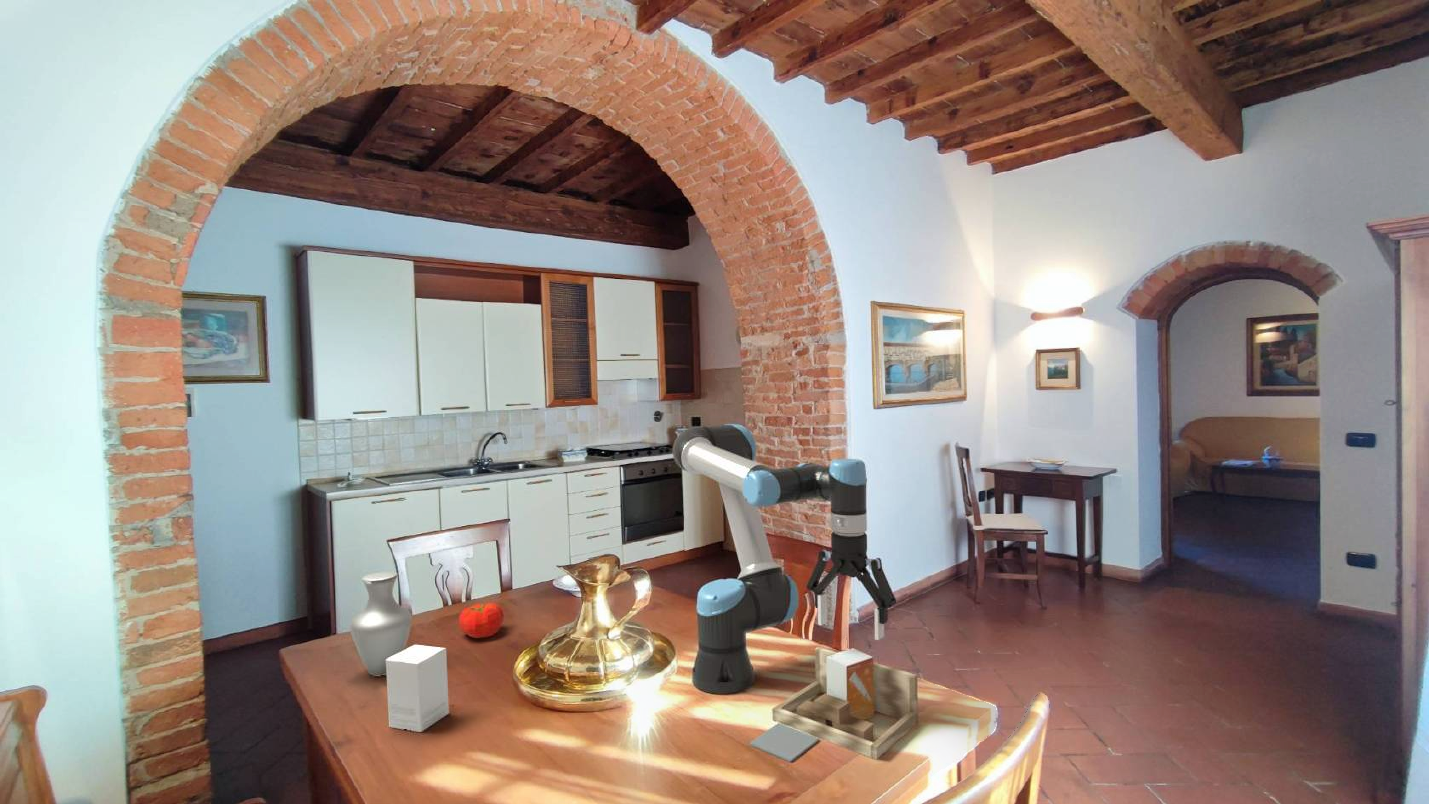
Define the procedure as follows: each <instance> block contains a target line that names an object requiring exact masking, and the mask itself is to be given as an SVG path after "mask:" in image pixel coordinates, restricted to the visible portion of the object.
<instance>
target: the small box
mask: <svg viewBox="0 0 1429 804" xmlns="http://www.w3.org/2000/svg"><path fill="white" fill-rule="evenodd" d="M873 663H874V657H873V656H872V655H869V654H867V653H865V652H862V651H860V650H858V649H855V648H853V647H852V648H849V649H845V650H843V651H839V652H838V653H836V654H834V655H831V656H827V657H826V669H827V694H828V695H831V696H834V697H837V698H840V699H843V700H846V701H848V702H850V716H852V717H855V718H858V719H861V720H864V721H866V720H868V719H870V718H873V717H874V715H875V714H874V711H875V710H874V696H873Z"/></svg>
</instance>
